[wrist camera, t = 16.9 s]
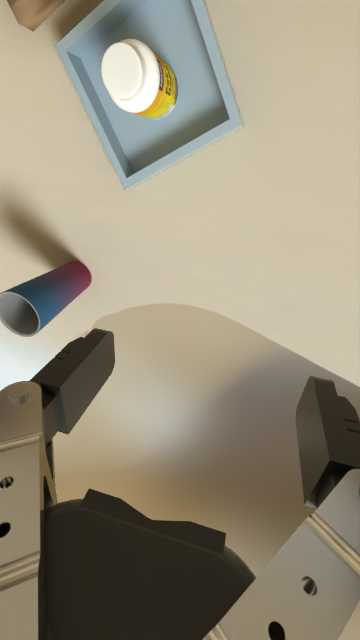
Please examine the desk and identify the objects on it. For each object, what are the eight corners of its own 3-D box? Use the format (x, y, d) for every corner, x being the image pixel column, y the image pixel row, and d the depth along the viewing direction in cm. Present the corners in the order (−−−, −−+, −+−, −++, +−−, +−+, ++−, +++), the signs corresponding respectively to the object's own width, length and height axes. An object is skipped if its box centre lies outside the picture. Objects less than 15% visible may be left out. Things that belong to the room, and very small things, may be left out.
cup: (80, 299, 54) (23, 344, 41) (54, 270, 52) (-14, 307, 40) (103, 280, 51) (49, 323, 38) (76, 248, 49) (9, 281, 36)
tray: (190, -45, 29) (180, -71, 26) (244, 126, 35) (241, 123, 32) (74, 56, 36) (54, 46, 32) (135, 186, 41) (124, 189, 38)
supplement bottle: (187, 105, 34) (160, 89, 26) (147, 128, 37) (111, 121, 28) (168, 49, 32) (132, 12, 24) (127, 77, 35) (81, 53, 26)
